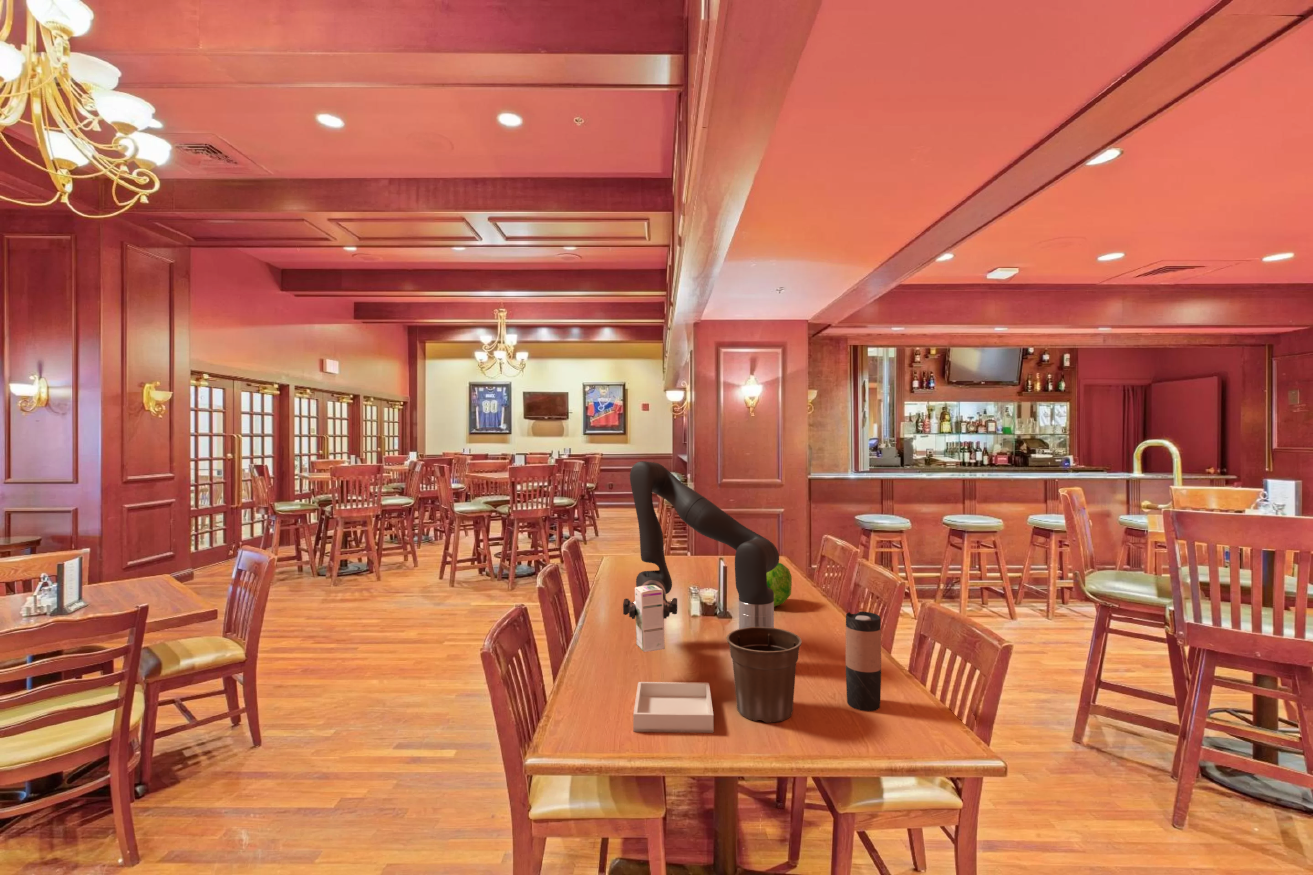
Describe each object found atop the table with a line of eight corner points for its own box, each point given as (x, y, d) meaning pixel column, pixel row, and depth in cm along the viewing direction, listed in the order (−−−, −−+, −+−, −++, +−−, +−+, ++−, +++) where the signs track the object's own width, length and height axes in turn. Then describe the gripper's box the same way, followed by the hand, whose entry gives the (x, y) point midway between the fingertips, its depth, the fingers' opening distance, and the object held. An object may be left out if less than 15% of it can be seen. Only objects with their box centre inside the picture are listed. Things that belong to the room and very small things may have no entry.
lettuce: (778, 600, 228) (753, 566, 231) (810, 582, 213) (783, 546, 216) (751, 624, 217) (725, 588, 220) (783, 607, 202) (755, 568, 205)
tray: (708, 698, 138) (708, 682, 138) (713, 732, 122) (713, 714, 122) (638, 697, 139) (638, 681, 139) (633, 731, 122) (633, 714, 122)
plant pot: (765, 736, 120) (764, 656, 121) (712, 707, 133) (711, 635, 134) (817, 714, 130) (817, 640, 130) (763, 689, 143) (762, 622, 143)
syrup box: (665, 649, 144) (664, 589, 144) (642, 652, 142) (641, 591, 142) (657, 641, 149) (656, 583, 149) (635, 645, 147) (633, 586, 147)
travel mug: (877, 714, 130) (877, 622, 130) (841, 706, 134) (841, 617, 134) (884, 701, 136) (884, 614, 136) (850, 694, 140) (850, 609, 140)
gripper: (624, 583, 160) (619, 599, 144) (678, 582, 160) (678, 598, 143) (625, 611, 160) (619, 630, 144) (678, 610, 160) (679, 630, 143)
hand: (649, 614), depth 143 cm, fingers closed on syrup box, 7 cm apart
